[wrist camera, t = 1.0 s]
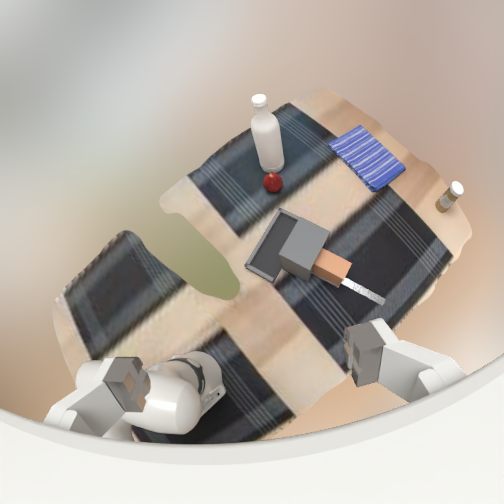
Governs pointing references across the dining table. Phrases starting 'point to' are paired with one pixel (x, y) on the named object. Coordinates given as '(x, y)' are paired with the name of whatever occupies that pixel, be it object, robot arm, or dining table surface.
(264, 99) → the bottle
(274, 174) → the onion
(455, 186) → the sprinkles bottle
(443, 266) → the dining table surface
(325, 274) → the orange rectangular block
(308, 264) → the tunnel
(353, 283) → the rail
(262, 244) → the tray
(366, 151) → the dish towel
